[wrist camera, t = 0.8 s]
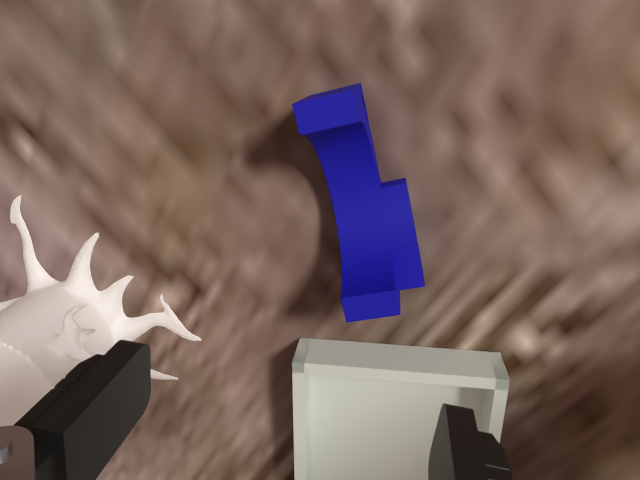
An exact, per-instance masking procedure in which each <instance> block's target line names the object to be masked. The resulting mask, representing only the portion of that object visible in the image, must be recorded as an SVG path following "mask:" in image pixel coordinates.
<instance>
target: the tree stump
mask: <svg viewBox="0 0 640 480" xmlns="http://www.w3.org/2000/svg"><path fill="white" fill-rule="evenodd" d="M21 196H22V195H21ZM21 196H18V197H17V198H16V199H15V200H14V201H13V203H12V205H11V211H10V213H11V215H10V219H11V222H12V223H15V224H16V226H17V228H18V230H19V232H20V234H21V237H22V242H23V259H24V264H25V270H26V275H27V284H28V286H27V292H26V294H25V295H24V296H23V297H19V298H16V299H12V300H9V301H5V302H1V303H0V427H1V426H13V425H14V424H15V423H16V422H17V421H18V420H19V419H20V418H21V417H23V416H24V415H25V414H26V413H27V412H28V411H29V410H30V409H31V408H32V407H33V406H34V405H35V404H36V403H37V402H38V401H39V400H40V399H42V398H43V397H44V396H45V395H46V394H47V393H48V392H49V391H50V390H51V389H54V387H55V385H56V384H57V383H58V382H59V381H61V380H62V379H63V378H64V379H65V376H66V375H67V374H68V373H69V372H70V371H71V370H72V369H73V368H74V367H75V366H76V365H77V364H78V363H80V362H82V361H84V360H86V359H88V358H90V357H92V356H94V355H96V354H100V355H105V354H106V353H107V352H108V351H109V350H110V349H111V348H112V347H113V346H114V345H115V344H116V343H117V342H118V341H119V340H127V341H132V342H133V341H134V340H135V339H136V338H138V337H139V336H140V335H142V334H143V333H144V332H146V331H147V330H149V329H150V328H151V327H154V326H163V327H165V328H167V329H169V330H171V331H173V332H175V333H176V334H178V335H180V336H181V337H183V338H186V339H188V340H191V341H201V339H200V338H199V337H197V336H195V335H193V334H191V333H190V332H189V331H188V330H187V329H186V328H185V327H184V326H183V324H182V323H181V322H180V321H179V320H178V318H177V317H176V315H175V314H174V313H173V311H172V310H171V309H170V308H169V306H168V304H167V303H165V302H164V300H163V295H161V296H160V300H161V303H162V305H163V307H164V310H165V311H164V312H163V313H151V314H147V315H144V316H141V317H135V318H129V317H127V316H126V315H125V314H124V312H123V309H122V296H123V292H124V290H125V288H126V286H127V285H128V284H129V282H130V280H131V279H132V278H133V277H134V276H126V277H124V278H122V279H120V280H118V281H117V282H115V283H113V284H112V285H111V286H110V287H108V288H107V289H106V290H104V291H98V290H97V289H96V288H95V286H94V284H93V281H92V277H91V272H90V258H91V253H92V250H93V246H94V245H95V242H96V240H97V239H98V237H99V235H98V234H99V233H95V234H94V235H93V236H92V237H91V238H90V239H89V240H88V241H86V242H85V244H84V245H83V247H82V248H81V249H80V251H79V253H78V254H77V256H76V258H75V260H74V263H73V265H72V268H71V270H70V273H69V276H68V277H67V279H66V280H65V281H63V282H59V281H56V280H55V279H53V278H52V277H50V276H49V275H48V274H47V273H46V271H45V270H44V269H43V268H42V267H41V265H40V264H39V262H38V260H37V258H36V256H35V253H34V249H33V245H32V241H31V238H30V235H29V232H28V230H27V228H26V225H25V222H24V220H23V219H22V216H21V213H20V202H21ZM151 378H153V379H162V380H169V379H174V380H179V379H178V378H177V377H173V376H169V375H167V374H163V373H160V372H157V371H155V370H153V369H151Z"/></svg>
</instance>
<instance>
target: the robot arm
mask: <svg viewBox="0 0 640 480" xmlns="http://www.w3.org/2000/svg"><path fill="white" fill-rule="evenodd" d="M150 392H151V362H150V347H149V345H147V344H142V343H137V342H132V341H127V340H119V341H118V342H117V343H116V344H115V345H114V346H113V347H112V348H111V349H110V350H109V351H108V352H107V353H106V354H105V355H100V354H96V355H94V356H92V357H90V358H88V359H86V360H84V361H82V362H80V363H78V364H77V365H76V366H75V367H74V368H73V369H72V370H71V371H70V372H69V373H68V374H67V375H66V376H65V379H64V378H63V379H62V380H61V381H59V382H58V383H57V384H56V385H55V387H54V389H51V390H50V391H49V392H48V393H47V394H46V395H45V396H44V397H43V398H42V399H40V400H39V401H38V402H37V403H36V404H35V405H34V406H33V407H32V408H31V409H30V410H29V411H28V412H27V413H26V414H25V415H24V416H23V417H21V418H20V419H19V420H18V421H17V422H16V423H15V424H14V425H13V426H1V427H0V480H95V479H96V478H97V477H98V475H99V474H100V473H101V471H102V470H103V468H104V467H105V466H106V464H107V463H108V462H109V460H110V459H111V457H112V456H113V455H114V453H115V452H116V451H117V449H118V448H119V446H120V445H121V444H122V442H123V441H124V439H125V438H126V437H127V435H128V434H129V433H130V431H131V430H132V428H133V427H134V426H135V424H136V423H137V422H138V420H139V419H140V417H141V416H142V415H143V413H144V411H145V409H146V407H147V405H148V402H149V398H150ZM428 480H512V477H511V474H510V472H509V466H508V462H507V458H506V454H505V451H504V449H503V448H502V446H501V445H500V444H499V442H498V441H497V440H496V438H495V437H494V436H493V434H491V433H486V432H481V431H478V429H477V424H476V419H475V414H474V411H473V409H471V408H465V407H460V406H455V405H450V404H445V403H444V404H443V405H442V407H441V410H440V414H439V418H438V422H437V426H436V430H435V434H434V437H433V441H432V445H431V449H430V455H429V464H428Z"/></svg>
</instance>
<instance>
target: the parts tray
mask: <svg viewBox="0 0 640 480" xmlns="http://www.w3.org/2000/svg"><path fill="white" fill-rule="evenodd" d="M292 382H293V429H294V477H295V480H428V464H429V455H430V449H431V445H432V441H433V437H434V434H435V430H436V426H437V422H438V418H439V414H440V410H441V407H442V405H443V404H444V403H445V404H450V405H455V406H460V407H465V408H471V409H473V411H474V414H475V419H476V424H477V429H478V431H481V432H486V433H491V434H493V436H494V437H495V438H496V440H497V441H498V442H499V444H500V439H501V432H502V426H503V420H504V414H505V408H506V401H507V395H508V389H509V383H510V379H509V376H508V373H507V370H506V368H505V365H504V362H503V359H502V356H501V354H500V353H498V352H484V351H471V350H458V349H444V348H431V347H418V346H404V345H391V344H378V343H364V342H351V341H338V340H324V339H311V338H300V340H299V343H298V346H297V349H296V352H295V355H294V358H293V361H292Z"/></svg>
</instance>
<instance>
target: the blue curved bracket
mask: <svg viewBox="0 0 640 480" xmlns="http://www.w3.org/2000/svg"><path fill="white" fill-rule="evenodd" d="M292 106H293V110H294V114H295V118H296V122H297V126H298V130H299V134H300V135H303V134H304V135H305V136H307V137H308V138H309V140H310V141H311V143H312V144H313V146H314V148H315V150H316V152H317V155H318V157H319V159H320V162H321V165H322V168H323V171H324V174H325V177H326V180H327V184H328V187H329V191H330V195H331V199H332V204H333V208H334V213H335V218H336V224H337V230H338V236H339V243H340V252H341V263H342V292H341V302H342V306H343V310H344V314H345V318H346V322H353V321H360V320H367V319H374V318H381V317H388V316H395V315H400V290H405V289H411V288H418V287H424V286H425V283H424V276H423V269H422V263H421V258H420V253H419V247H418V242H417V237H416V231H415V226H414V221H413V215H412V210H411V205H410V199H409V194H408V189H407V183H406V178H403V179H398V180H393V181H388V182H383V183H381V180H380V175H379V170H378V166H377V161H376V156H375V151H374V146H373V141H372V136H371V131H370V126H369V122H368V117H367V112H366V107H365V102H364V97H363V92H362V87H361V83H359V84H355V85H351V86H347V87H342V88H338V89H334V90H330V91H326V92H322V93H318V94H314V95H310V96H308V97H306V98H304V99H302V100H300V101H298V102H296V103H294V104H292Z"/></svg>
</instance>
